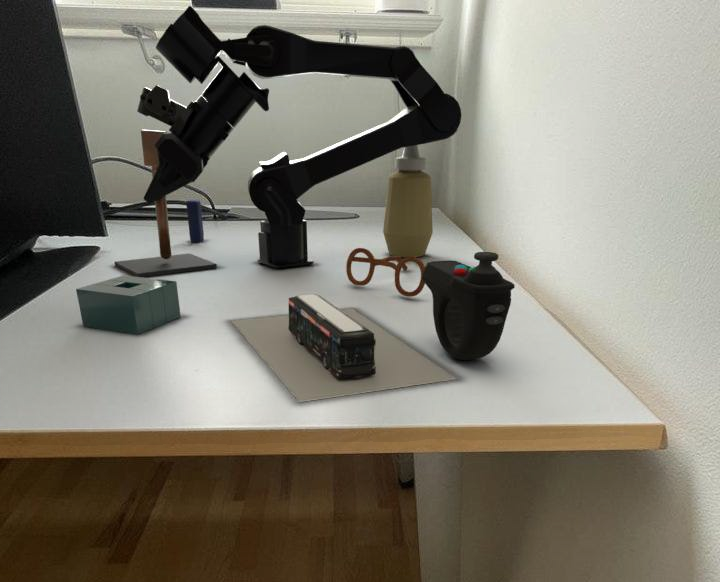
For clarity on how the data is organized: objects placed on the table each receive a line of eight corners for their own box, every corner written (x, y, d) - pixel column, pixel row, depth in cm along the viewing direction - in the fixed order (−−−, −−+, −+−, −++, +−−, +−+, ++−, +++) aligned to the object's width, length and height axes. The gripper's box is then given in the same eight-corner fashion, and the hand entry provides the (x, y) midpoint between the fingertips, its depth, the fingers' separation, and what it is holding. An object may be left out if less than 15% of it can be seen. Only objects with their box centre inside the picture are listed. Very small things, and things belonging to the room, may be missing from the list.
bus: (299, 402, 53) (297, 351, 51) (231, 321, 74) (227, 282, 71) (456, 379, 58) (460, 332, 56) (351, 309, 78) (352, 272, 76)
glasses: (344, 285, 89) (344, 246, 87) (405, 270, 98) (406, 235, 95) (420, 302, 81) (422, 260, 79) (480, 285, 90) (483, 246, 87)
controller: (468, 378, 58) (479, 261, 54) (413, 338, 69) (418, 237, 64) (511, 372, 60) (525, 258, 55) (451, 334, 70) (458, 235, 65)
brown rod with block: (179, 259, 99) (168, 131, 90) (174, 261, 98) (162, 131, 89) (158, 257, 99) (145, 129, 91) (153, 259, 98) (139, 130, 89)
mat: (189, 257, 105) (189, 253, 105) (217, 268, 98) (216, 263, 98) (114, 265, 99) (114, 261, 99) (138, 278, 92) (137, 273, 92)
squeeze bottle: (428, 260, 104) (435, 132, 95) (378, 258, 105) (380, 131, 97) (433, 251, 111) (441, 130, 102) (386, 249, 112) (389, 130, 104)
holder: (129, 309, 77) (123, 275, 76) (181, 317, 75) (176, 281, 73) (83, 326, 72) (75, 288, 70) (138, 334, 69) (131, 296, 67)
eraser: (193, 240, 119) (189, 199, 116) (205, 240, 119) (201, 199, 116) (189, 242, 117) (184, 200, 114) (201, 242, 117) (196, 201, 114)
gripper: (175, 66, 95) (109, 152, 99) (161, 57, 79) (83, 161, 82) (235, 128, 100) (170, 208, 103) (234, 132, 84) (158, 226, 87)
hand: (147, 200), depth 94 cm, fingers closed on brown rod with block, 1 cm apart
